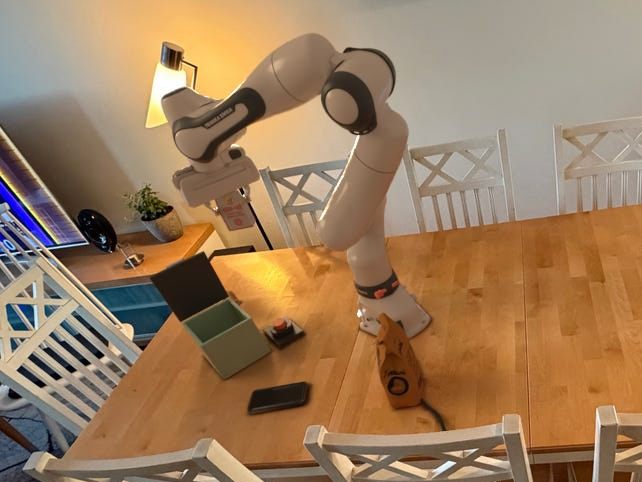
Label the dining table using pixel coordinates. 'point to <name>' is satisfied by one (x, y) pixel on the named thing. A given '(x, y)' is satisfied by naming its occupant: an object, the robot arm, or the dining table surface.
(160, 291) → the lid
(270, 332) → the block
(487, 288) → the dining table surface
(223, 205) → the printed card box
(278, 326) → the button
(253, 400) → the phone
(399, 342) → the coffee package
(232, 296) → the lion figurine
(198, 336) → the green box
